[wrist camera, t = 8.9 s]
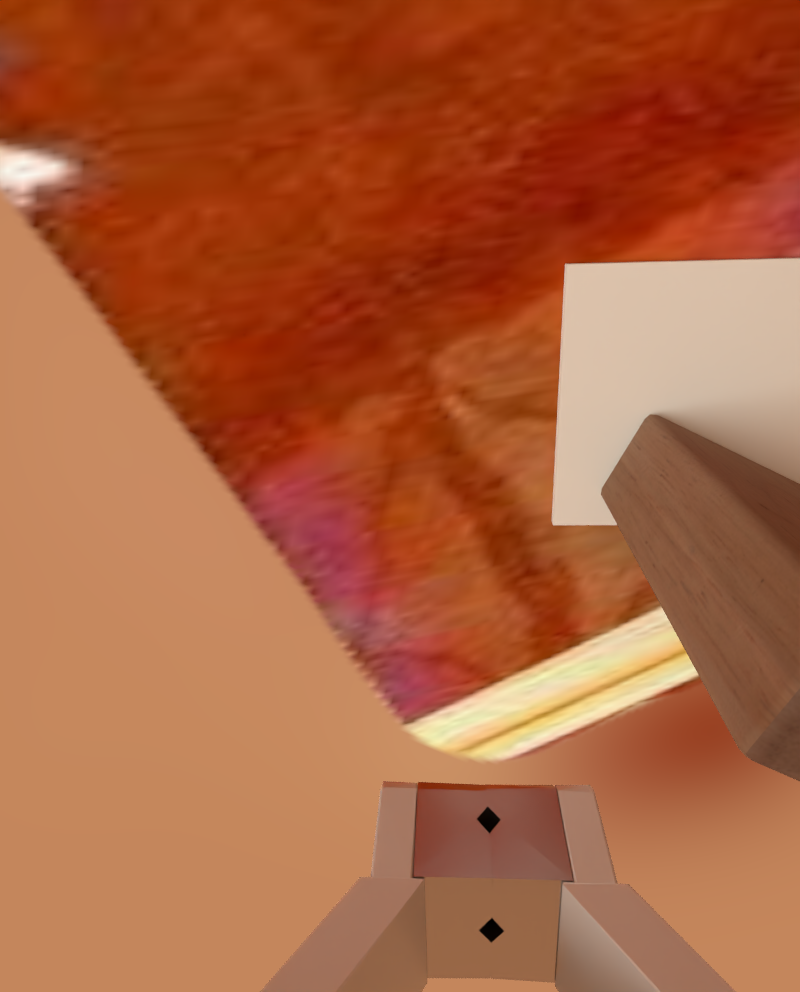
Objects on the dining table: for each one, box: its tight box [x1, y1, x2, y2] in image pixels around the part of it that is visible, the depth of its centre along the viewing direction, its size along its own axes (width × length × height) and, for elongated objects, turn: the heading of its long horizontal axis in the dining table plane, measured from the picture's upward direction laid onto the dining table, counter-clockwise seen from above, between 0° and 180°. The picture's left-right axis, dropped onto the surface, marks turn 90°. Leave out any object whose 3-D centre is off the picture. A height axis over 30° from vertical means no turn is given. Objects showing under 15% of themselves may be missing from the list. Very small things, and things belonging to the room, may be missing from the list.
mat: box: [552, 258, 800, 525], centre depth 33 cm, size 12×16×1 cm
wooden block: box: [601, 414, 800, 781], centre depth 26 cm, size 9×4×18 cm, turn 65°
